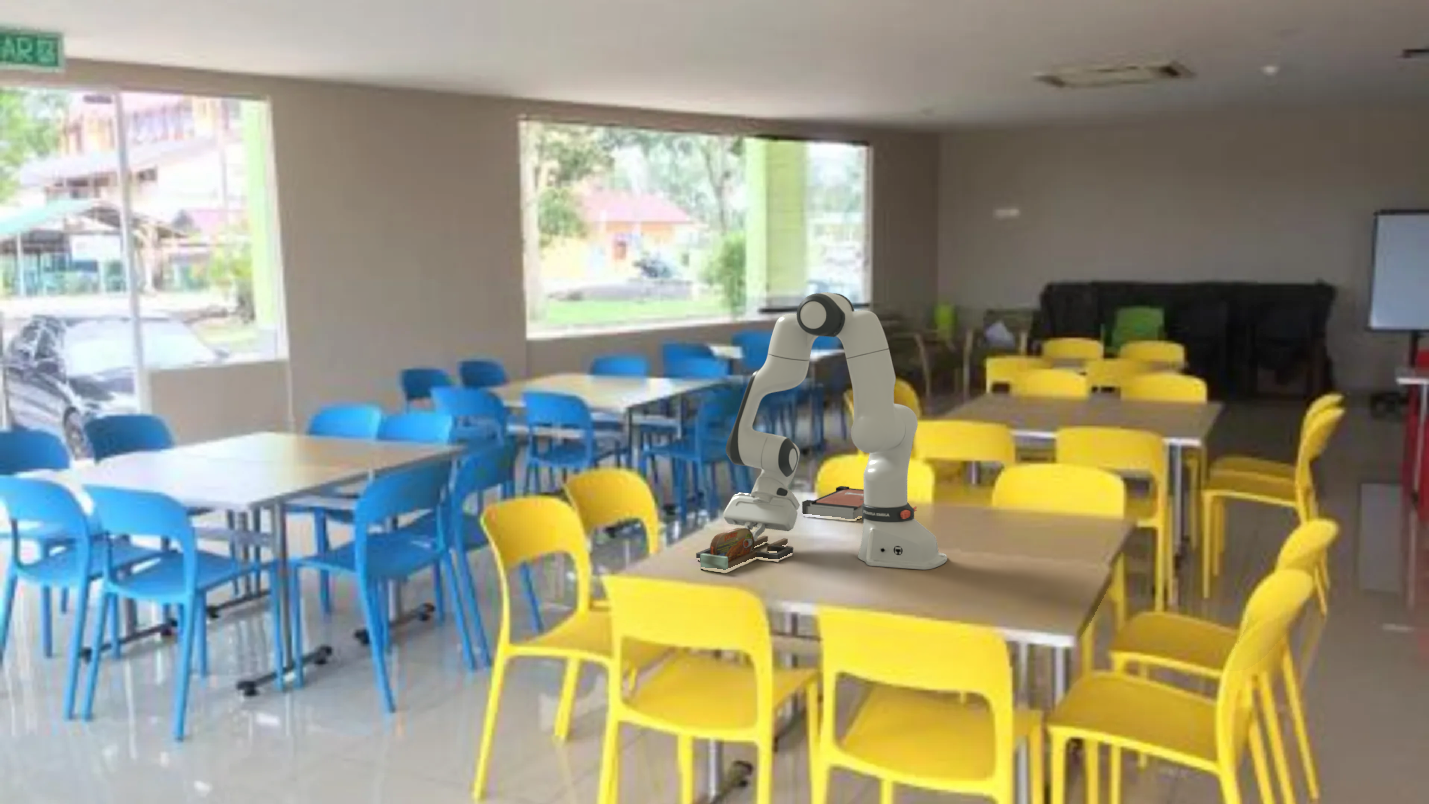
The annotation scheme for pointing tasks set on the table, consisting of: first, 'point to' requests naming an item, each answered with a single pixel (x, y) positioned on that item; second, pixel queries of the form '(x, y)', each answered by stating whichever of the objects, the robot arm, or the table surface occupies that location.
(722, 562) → the trap lane
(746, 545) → the tin
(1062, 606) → the table surface
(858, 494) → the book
